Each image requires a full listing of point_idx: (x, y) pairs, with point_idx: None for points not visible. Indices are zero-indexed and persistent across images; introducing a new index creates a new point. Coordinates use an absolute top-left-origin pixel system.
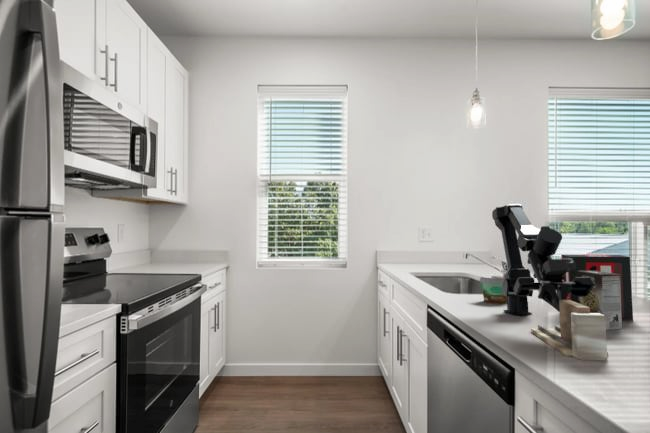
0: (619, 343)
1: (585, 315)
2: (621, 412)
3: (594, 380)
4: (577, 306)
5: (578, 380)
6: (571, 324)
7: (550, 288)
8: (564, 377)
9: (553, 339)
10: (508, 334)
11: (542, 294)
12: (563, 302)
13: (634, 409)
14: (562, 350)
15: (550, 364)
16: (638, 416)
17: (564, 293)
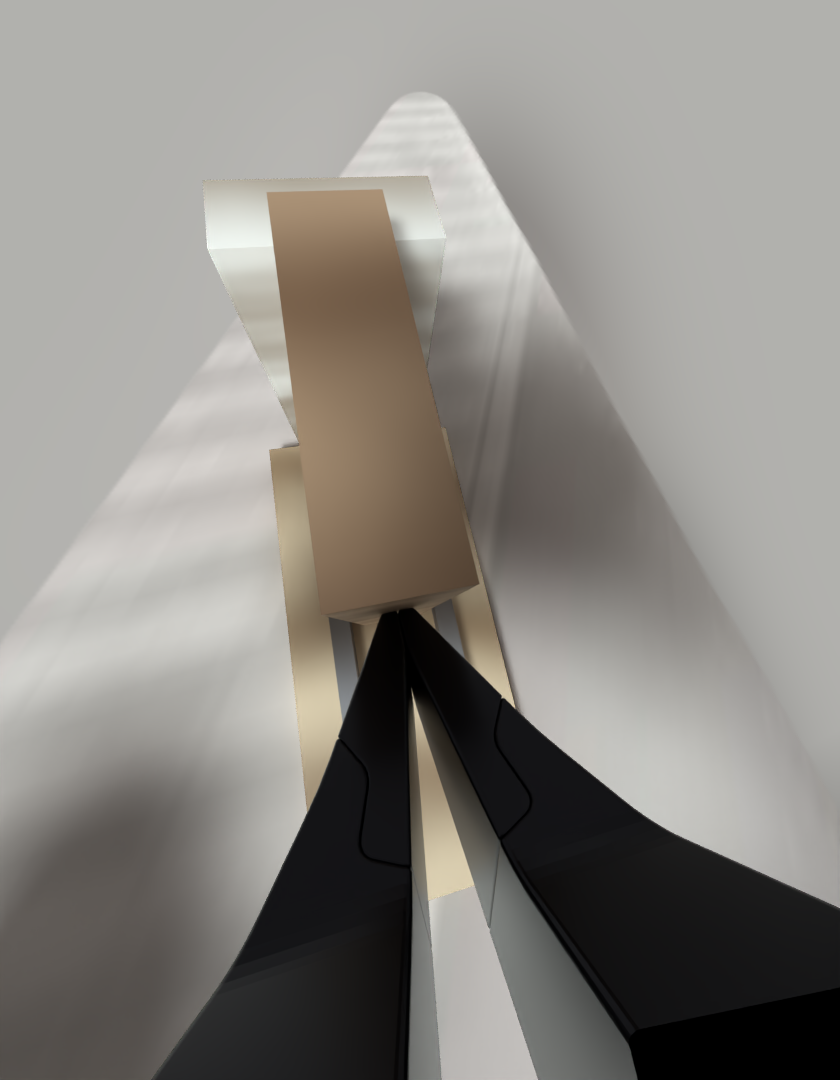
0: (85, 715)
1: (359, 181)
2: (419, 126)
3: None
4: (372, 223)
5: (459, 246)
6: (432, 323)
7: (759, 917)
8: (491, 258)
9: (458, 605)
10: (662, 727)
11: (739, 1009)
12: (447, 464)
13: (387, 137)
14: (450, 453)
15: (512, 343)
16: (394, 116)
17: (319, 913)
